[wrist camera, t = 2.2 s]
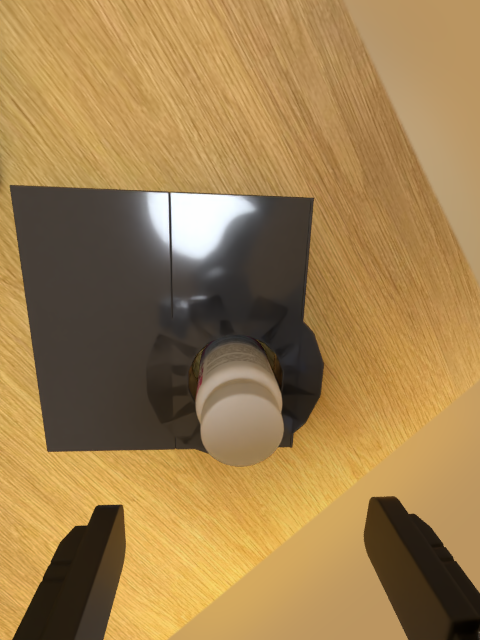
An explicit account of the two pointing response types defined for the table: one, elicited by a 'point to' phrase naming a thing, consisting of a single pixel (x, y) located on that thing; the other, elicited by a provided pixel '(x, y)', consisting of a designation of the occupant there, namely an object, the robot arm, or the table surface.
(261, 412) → the pill bottle
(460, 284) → the table surface
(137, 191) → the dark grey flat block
